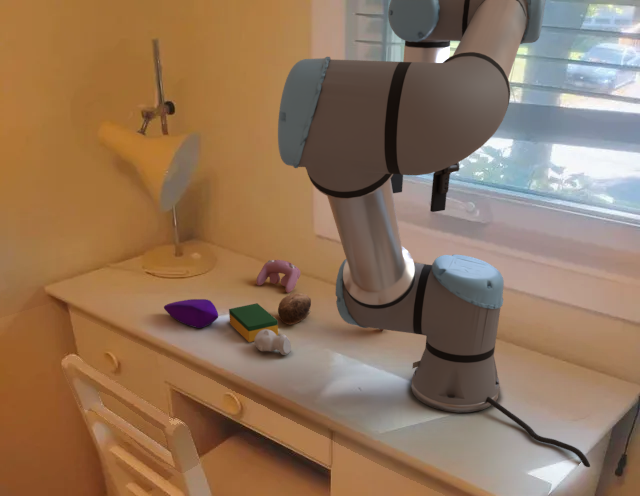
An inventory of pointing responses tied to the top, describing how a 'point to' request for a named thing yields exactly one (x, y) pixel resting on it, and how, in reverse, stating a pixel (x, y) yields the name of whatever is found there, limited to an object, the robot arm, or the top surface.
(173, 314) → the purple rounded wedge
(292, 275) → the video game controller
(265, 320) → the sponge
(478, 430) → the top surface
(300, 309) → the brown round lump
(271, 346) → the smooth white sculpture
